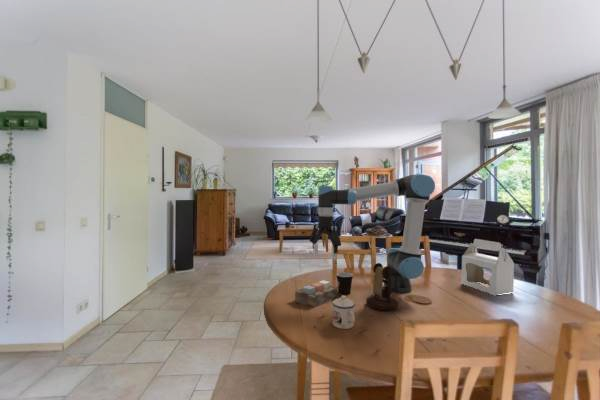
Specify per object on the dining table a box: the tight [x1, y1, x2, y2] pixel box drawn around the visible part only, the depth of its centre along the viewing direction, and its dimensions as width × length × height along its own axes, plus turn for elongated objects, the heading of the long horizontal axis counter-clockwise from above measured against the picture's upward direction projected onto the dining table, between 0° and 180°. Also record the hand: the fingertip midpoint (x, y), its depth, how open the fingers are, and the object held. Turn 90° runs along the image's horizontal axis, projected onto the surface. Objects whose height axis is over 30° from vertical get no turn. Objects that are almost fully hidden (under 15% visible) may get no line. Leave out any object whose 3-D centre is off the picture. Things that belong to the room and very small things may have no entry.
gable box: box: [461, 238, 515, 295], centre depth 166 cm, size 22×13×28 cm, turn 19°
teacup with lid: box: [331, 295, 356, 330], centre depth 116 cm, size 12×9×12 cm
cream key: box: [317, 280, 331, 289], centre depth 150 cm, size 4×4×5 cm
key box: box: [294, 285, 338, 309], centre depth 145 cm, size 19×12×5 cm, turn 138°
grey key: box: [302, 284, 315, 295], centre depth 141 cm, size 4×4×5 cm
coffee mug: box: [336, 272, 354, 296], centre depth 157 cm, size 12×9×10 cm
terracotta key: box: [310, 282, 323, 292], centre depth 145 cm, size 4×4×5 cm
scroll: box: [365, 262, 399, 312], centre depth 137 cm, size 15×15×20 cm
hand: (324, 257), depth 150 cm, fingers open, 11 cm apart
